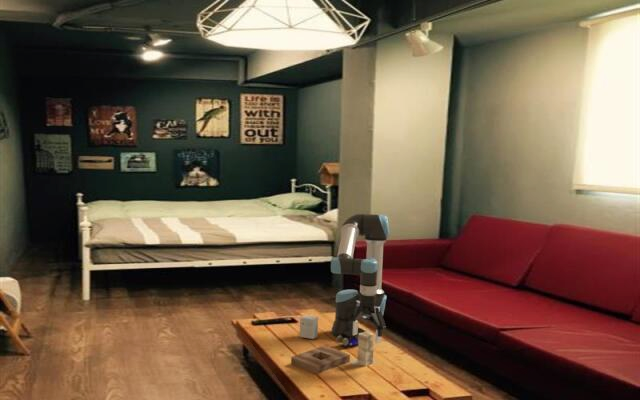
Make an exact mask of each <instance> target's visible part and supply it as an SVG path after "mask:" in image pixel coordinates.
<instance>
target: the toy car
mask: <svg viewBox="0 0 640 400" xmlns="http://www.w3.org/2000/svg"><path fill="white" fill-rule="evenodd" d="M365 331H366V332H368V331H367V330H365V329H363V328H361V327H359V328H358V334H357V335H353V330H349V331H346V332H342V336H338V337H336V339H335V341H336V343H339V344H341V345H340V346H341V347H344V349H346V348H347V349H348V348H349V347H350V346H353V345H358V337H359V333H362V332H365ZM353 336H356V337H353ZM350 337H353V338H350Z"/></svg>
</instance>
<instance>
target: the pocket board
mask: <svg viewBox="0 0 640 400" xmlns="http://www.w3.org/2000/svg"><path fill="white" fill-rule="evenodd" d="M290 358H291V359H290V363H291V366H294V367H297V368H299V369H301V370H304V371H307V372H309V373H312V374H314V375H319V374H321V373H324V372H326V370H327V371H329V369H330V370H332V369H335V368H337V367H340V366H343V365H346V364H350V363H351V361H350V360H351V355H350V354H349V353H346V352H345V351H344V352H343V351H341V350H339V349H336V348H332V347H329V346H327V345H322V346H319V347H316V348H313V349H311V350H307V351H304V352H301V353H299V354H296V355H292V356H291V357H290ZM320 359H321V360H320ZM323 371H324V372H323Z"/></svg>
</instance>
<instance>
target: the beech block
mask: <svg viewBox="0 0 640 400" xmlns="http://www.w3.org/2000/svg"><path fill="white" fill-rule="evenodd" d="M366 331H367V330H365V332H362V333H359V337H358V343H357V360H358V362H357V363H358V364H359V365H361V366H364V367H367V366H370V365H373V364H374V363H373V361H374V344H375V334H374V333H371V332H369V331H367V332H366Z"/></svg>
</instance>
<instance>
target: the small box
mask: <svg viewBox="0 0 640 400" xmlns="http://www.w3.org/2000/svg"><path fill="white" fill-rule="evenodd" d="M299 322H300V323H299V337H300V338H304V339H305V338H306V339H311V340H315V338H317V337H318V336H319V335H318V330H319V327H318V326H319V324H318V323H319V317H318V316H316V315H309V314H303V315H302V316H300V318H299Z"/></svg>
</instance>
